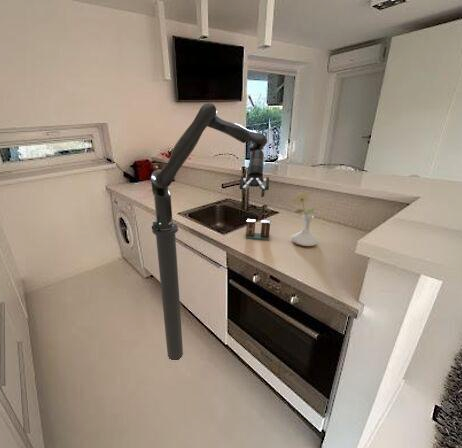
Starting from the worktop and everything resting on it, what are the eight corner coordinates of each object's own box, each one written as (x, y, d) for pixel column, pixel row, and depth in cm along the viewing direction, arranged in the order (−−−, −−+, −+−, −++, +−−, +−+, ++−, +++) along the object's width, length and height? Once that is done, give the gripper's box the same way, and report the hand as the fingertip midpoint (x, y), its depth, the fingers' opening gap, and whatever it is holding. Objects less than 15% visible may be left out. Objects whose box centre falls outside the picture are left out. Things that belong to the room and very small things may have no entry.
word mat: (245, 238, 124) (246, 237, 124) (246, 233, 129) (247, 232, 129) (268, 240, 121) (268, 239, 121) (268, 235, 126) (268, 234, 126)
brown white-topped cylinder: (260, 237, 123) (261, 222, 120) (260, 234, 126) (261, 219, 123) (268, 238, 122) (270, 223, 119) (268, 235, 125) (270, 220, 122)
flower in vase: (314, 238, 121) (322, 189, 111) (319, 249, 110) (329, 195, 101) (286, 236, 124) (292, 188, 114) (289, 247, 114) (295, 195, 104)
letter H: (246, 236, 125) (246, 221, 122) (246, 233, 128) (247, 218, 125) (254, 236, 124) (255, 222, 121) (254, 233, 127) (255, 219, 124)
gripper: (241, 164, 125) (238, 191, 119) (270, 164, 121) (268, 193, 115) (242, 172, 132) (238, 199, 126) (269, 173, 128) (267, 200, 122)
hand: (253, 196), depth 121 cm, fingers open, 8 cm apart
